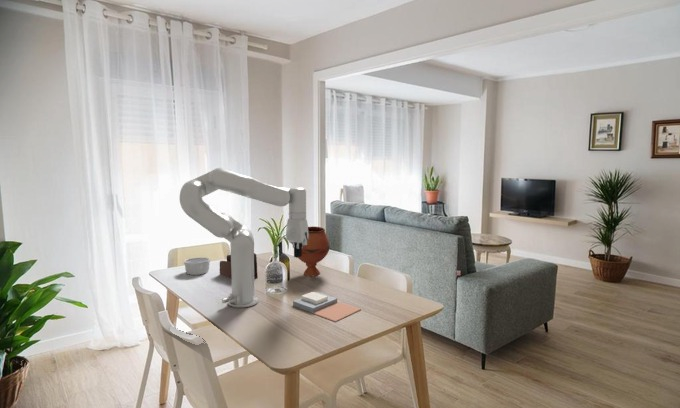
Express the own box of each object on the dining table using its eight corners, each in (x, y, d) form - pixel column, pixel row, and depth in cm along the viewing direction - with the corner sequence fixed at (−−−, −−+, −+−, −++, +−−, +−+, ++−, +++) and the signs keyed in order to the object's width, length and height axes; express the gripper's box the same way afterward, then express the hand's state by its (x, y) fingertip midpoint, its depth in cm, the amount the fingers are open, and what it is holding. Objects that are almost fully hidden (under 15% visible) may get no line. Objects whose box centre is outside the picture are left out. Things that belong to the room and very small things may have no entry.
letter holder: (235, 271, 214) (234, 246, 213) (257, 278, 202) (257, 252, 200) (219, 275, 207) (218, 249, 205) (242, 283, 194) (241, 255, 193)
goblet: (292, 279, 201) (292, 231, 198) (295, 268, 220) (295, 225, 217) (329, 279, 201) (329, 232, 198) (329, 268, 220) (329, 225, 217)
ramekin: (192, 268, 219) (192, 256, 218) (214, 269, 217) (214, 257, 216) (179, 275, 206) (179, 262, 205) (203, 276, 204) (202, 263, 203)
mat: (335, 322, 148) (335, 321, 148) (313, 313, 156) (313, 312, 156) (360, 309, 160) (360, 309, 160) (338, 302, 168) (338, 301, 168)
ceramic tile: (316, 304, 161) (316, 300, 161) (301, 299, 167) (301, 295, 167) (327, 299, 166) (327, 296, 166) (312, 294, 172) (312, 291, 172)
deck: (313, 313, 157) (313, 308, 157) (293, 305, 165) (293, 301, 164) (337, 302, 168) (337, 298, 168) (317, 296, 176) (317, 292, 176)
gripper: (279, 215, 171) (280, 255, 173) (303, 218, 161) (303, 261, 164) (292, 213, 177) (292, 252, 179) (315, 216, 167) (315, 258, 169)
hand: (297, 256), depth 171 cm, fingers closed
